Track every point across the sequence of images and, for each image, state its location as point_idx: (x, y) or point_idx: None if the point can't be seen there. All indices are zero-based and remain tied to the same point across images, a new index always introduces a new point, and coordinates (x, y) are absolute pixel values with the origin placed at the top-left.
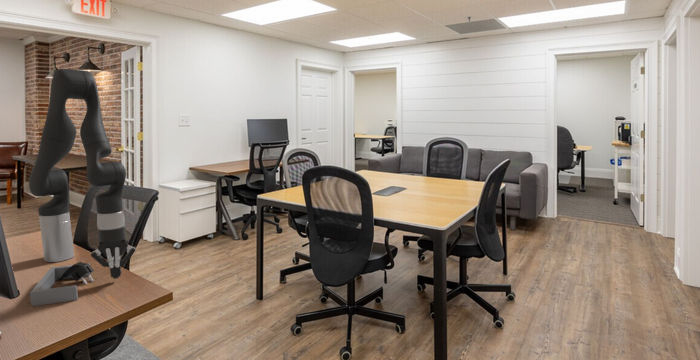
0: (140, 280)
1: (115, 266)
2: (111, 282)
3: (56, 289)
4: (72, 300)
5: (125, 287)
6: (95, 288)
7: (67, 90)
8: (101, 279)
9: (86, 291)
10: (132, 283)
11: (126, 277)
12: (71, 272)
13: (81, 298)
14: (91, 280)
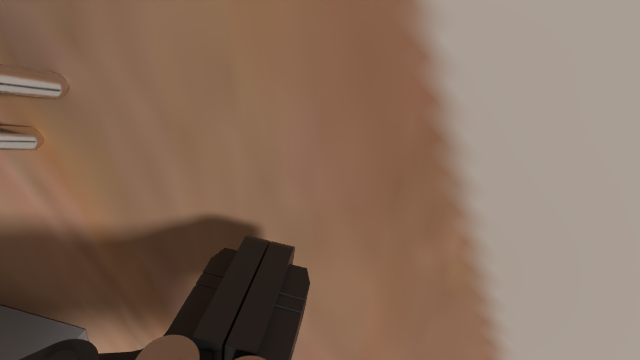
0: (471, 314)
1: (224, 348)
2: (240, 218)
3: None
4: None
5: (339, 356)
6: (141, 260)
7: None
8: (135, 85)
9: (97, 273)
10: (396, 328)
11: (375, 177)
12: None
13: (106, 342)
14: (46, 96)
